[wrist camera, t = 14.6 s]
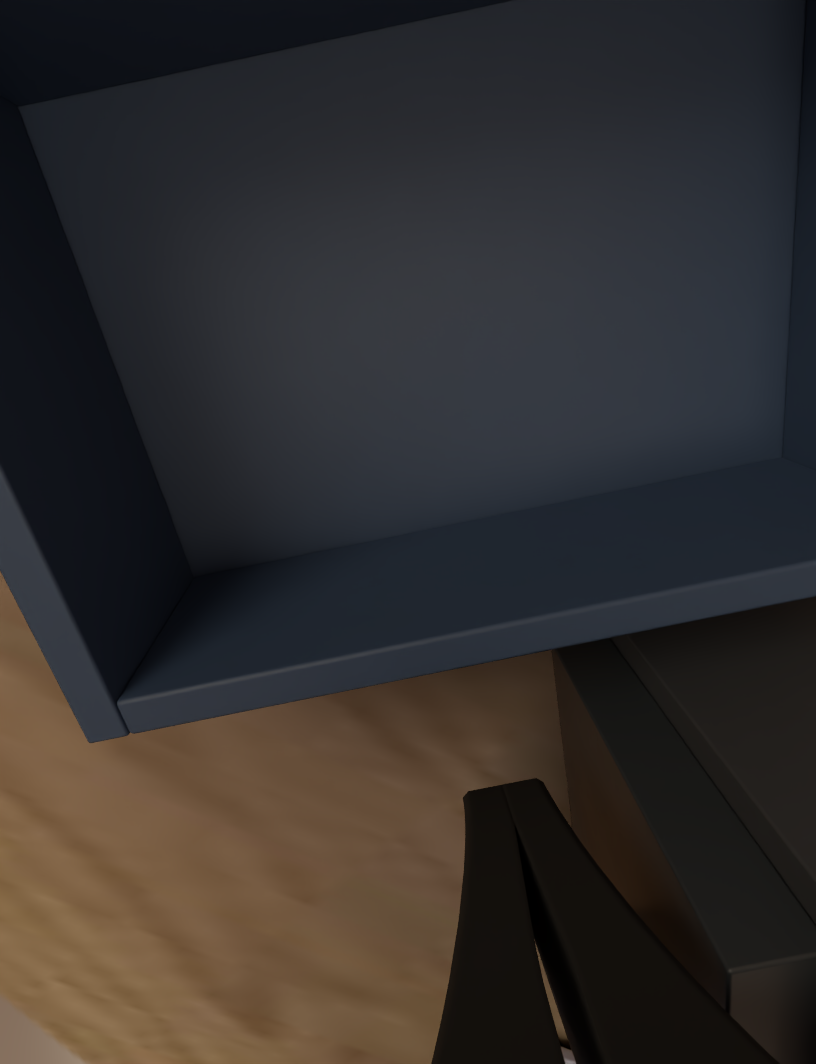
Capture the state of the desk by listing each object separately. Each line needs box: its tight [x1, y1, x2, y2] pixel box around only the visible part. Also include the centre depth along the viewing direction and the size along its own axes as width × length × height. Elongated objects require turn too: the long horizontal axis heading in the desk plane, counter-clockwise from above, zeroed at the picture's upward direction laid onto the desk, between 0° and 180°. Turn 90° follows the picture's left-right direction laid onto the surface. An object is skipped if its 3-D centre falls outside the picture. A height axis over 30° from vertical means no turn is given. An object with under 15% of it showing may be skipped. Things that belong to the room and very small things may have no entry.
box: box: [0, 0, 816, 743], centre depth 9 cm, size 13×9×5 cm
